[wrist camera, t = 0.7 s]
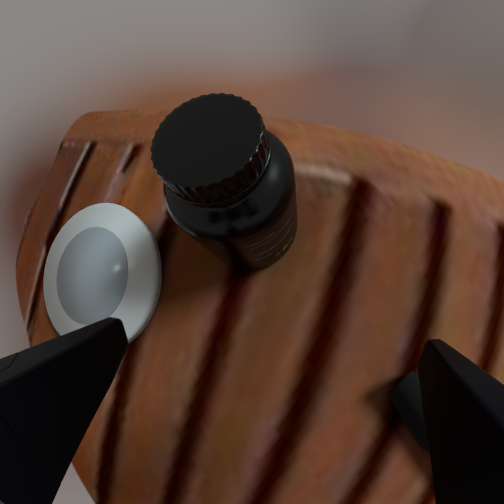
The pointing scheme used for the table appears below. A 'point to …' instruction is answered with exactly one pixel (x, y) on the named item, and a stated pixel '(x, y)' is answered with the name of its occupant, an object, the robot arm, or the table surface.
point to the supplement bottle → (227, 180)
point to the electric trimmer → (411, 407)
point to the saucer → (103, 271)
